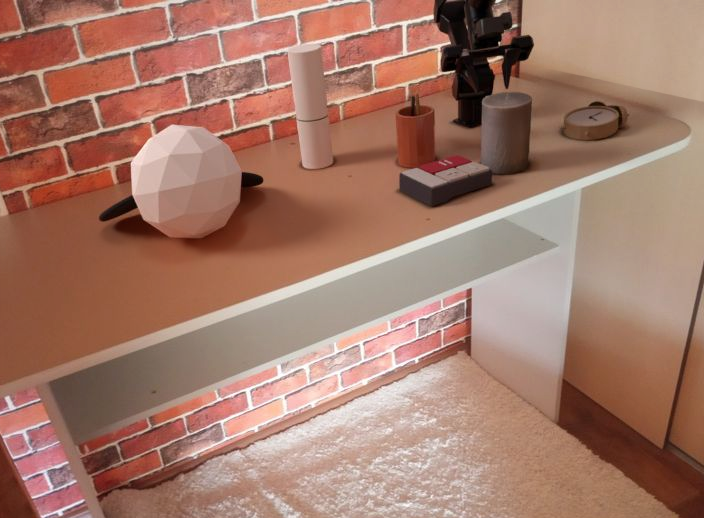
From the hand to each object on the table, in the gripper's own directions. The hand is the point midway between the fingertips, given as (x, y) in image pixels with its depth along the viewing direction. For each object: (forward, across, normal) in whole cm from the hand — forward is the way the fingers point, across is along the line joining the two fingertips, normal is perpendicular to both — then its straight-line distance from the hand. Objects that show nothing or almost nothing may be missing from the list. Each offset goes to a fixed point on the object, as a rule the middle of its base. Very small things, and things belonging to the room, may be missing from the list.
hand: (492, 90), depth 149 cm
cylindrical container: (+5, -38, +13) cm, 41 cm away
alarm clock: (+7, +24, +11) cm, 27 cm away
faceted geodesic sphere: (+23, -65, -5) cm, 69 cm away
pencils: (+9, -17, +7) cm, 20 cm away
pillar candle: (+16, 0, +2) cm, 17 cm away
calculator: (+22, -14, -4) cm, 26 cm away
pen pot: (+10, -17, +8) cm, 21 cm away
